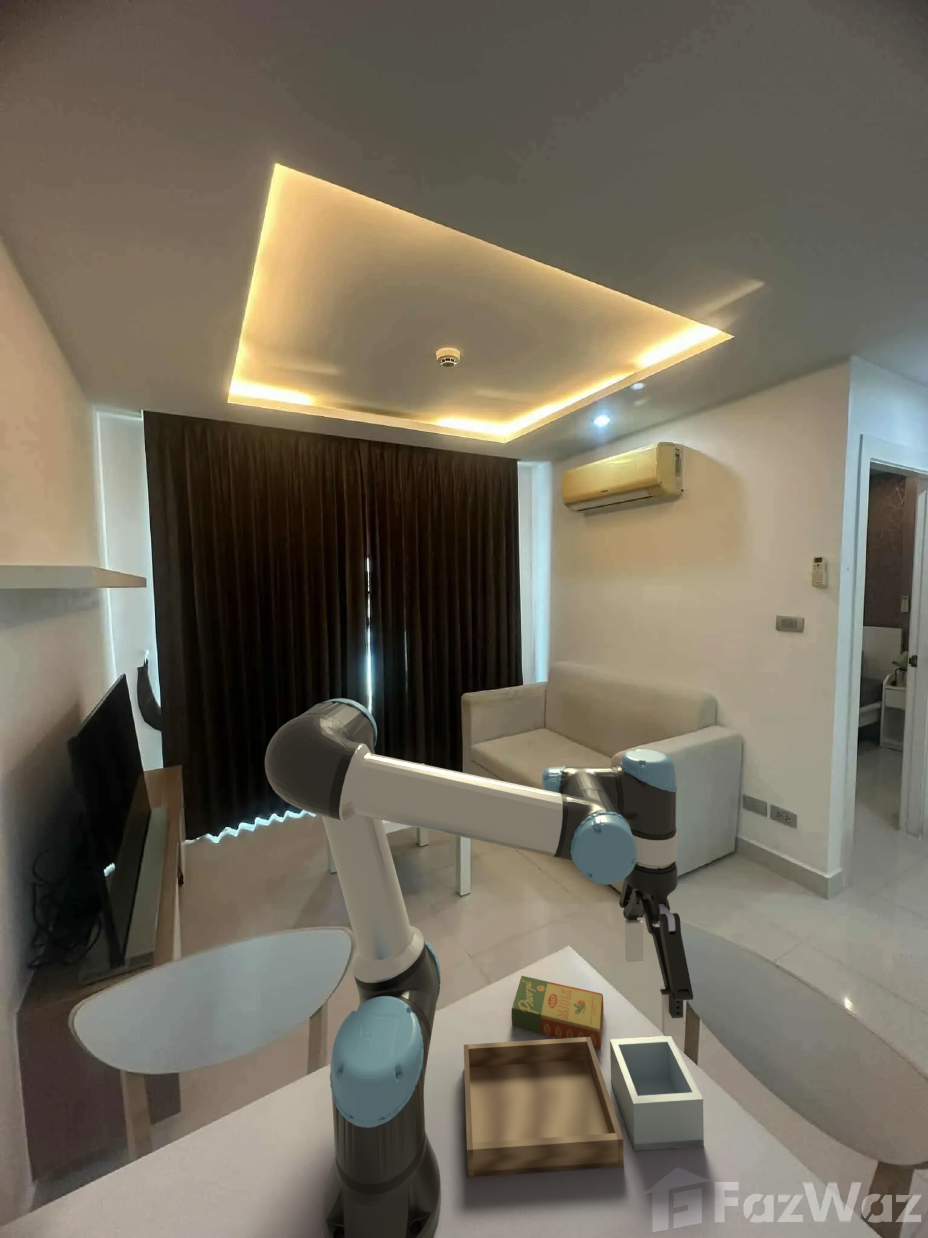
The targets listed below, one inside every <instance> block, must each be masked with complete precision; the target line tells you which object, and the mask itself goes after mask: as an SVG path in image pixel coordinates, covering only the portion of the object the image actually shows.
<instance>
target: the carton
mask: <svg viewBox="0 0 928 1238" xmlns="http://www.w3.org/2000/svg"><path fill="white" fill-rule="evenodd" d="M604 1007H605V1006H604V994H603V993H600V992H597V991H593V990H592V991H591V990H587V989H584V988H583V989H582V988H579V987H575V986H574V987H573V986H569V985H565V984H561V983H560V984H559V983H555V982H552V981H546V980H542V979H539V978H535V977H534V978H533V977H530V976H525V975H521V976H520V979H519V983H518V987H517V990H516V993H515V997H514V1000H513V1003H512V1007H511V1014H510V1015H511V1018H510V1019H511V1026H512V1027H513V1028H516V1029H519V1030H523V1031H527V1032H531V1033H535V1034H539V1035H543V1036H546V1037H549V1038H552V1039H564V1038H580V1037H590V1038H591V1041H592V1044H593V1047H594V1050H597V1051H602V1050H601V1049H602V1047H601V1046H602V1035H603V1022H604V1013H605V1012H604V1010H605V1009H604Z"/></svg>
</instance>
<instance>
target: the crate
mask: <svg viewBox="0 0 928 1238" xmlns="http://www.w3.org/2000/svg"><path fill="white" fill-rule="evenodd" d="M595 1050H596V1049H594V1047H593V1044H592V1041H591V1038H590V1037H580V1038H564V1039H557V1038H552V1039H537V1040H536V1039H534V1040H533V1039H532V1040H520V1041H501V1042H488V1043H485V1042H484V1043H470V1044H469V1043H467V1044H463V1065H464V1067H463V1068H464V1072H463V1073H464V1093H465V1095H464V1097H465V1125H466V1127H465V1128H466V1160H467V1178H470V1179H471V1178H483V1177H496V1176H497V1177H498V1176H509V1175H510V1176H513V1175H523V1174H524V1175H525V1174H527V1175H528V1174H539V1173H552V1172H555V1173H556V1172H567V1171H568V1172H569V1171H570V1172H571V1171H582V1170H583V1171H584V1170H585V1171H586V1170H595V1169H612V1168H624V1167H625V1158H624V1157H625V1154H624V1153H625V1152H624V1149H625V1148H624V1138H623V1134H622V1132H621V1128H620V1125H619V1122H618V1118H617V1115H616V1113H615V1110H614V1109H615V1108H614V1105H613V1103H612V1100H611V1097H610V1093H609V1091H608V1088H607V1085H606V1081H605V1079H604V1076H603V1073H602V1068H601V1066H600V1063H599V1059H598V1057H597V1054H596V1053H597V1052H596V1051H595Z"/></svg>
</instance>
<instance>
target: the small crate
mask: <svg viewBox="0 0 928 1238" xmlns="http://www.w3.org/2000/svg"><path fill="white" fill-rule="evenodd" d="M609 1045H610V1046H609V1049H610V1050H609V1053H610V1055H609V1056H610V1082H611V1084H612V1087H613V1091H614V1094H615V1096H616V1100H617V1102H618V1106H619V1109H620V1111H621V1114H622V1119H623V1120H624V1124H625V1125H626V1126H625V1127H626V1130H627V1133H628V1136H629V1138H630V1142H631V1145H632V1148H633V1151H634V1152H636V1151H637V1152H638V1151H639V1152H640V1151H653V1150H667V1149H668V1150H669V1149H680V1148H681V1149H682V1148H683V1149H684V1148H695V1147H704V1145H705V1144H704V1143H705V1141H704V1140H705V1138H704V1137H705V1136H704V1135H705V1134H704V1133H705V1132H704V1130H705V1129H704V1099H703V1096H702V1094H701V1092H700V1090H699V1088H698V1086H697V1084H696V1082H695V1080H694V1078H693V1077H692V1074H691V1073H690V1070H689V1069H688V1067H687V1065H686V1062H685V1061H684V1059H683V1057H682V1055H681V1053H680V1051H679V1049H678V1046H677V1045H676V1042H675V1041H674V1039H673V1036H664V1035H660V1036H659V1035H658V1036H657V1035H656V1036H647V1037H646V1036H642V1037H628V1038H626V1037H625V1038H612V1039H609Z"/></svg>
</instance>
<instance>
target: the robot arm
mask: <svg viewBox="0 0 928 1238" xmlns="http://www.w3.org/2000/svg"><path fill="white" fill-rule="evenodd" d="M377 737H378V729H377V724H376V721H375V719H374V717H373V714H371V712H370V711H369V710H368V709H367V708H366V706H365V705H362V704H360V703H359V702H357V701H355V700H352V699H348V698H342V697H341V698H339V697H338V698H332V699H328V700H326V701H322V702H319V703H317V704H315V705H313V706H312V707H311V708H309V709H308V710H307V711H305V712H304V713H302V714H300V715H299V716H297V717H294V718H293V719H290V720H288V721H287V722H286V723H285V724H283V725H282V726H281V727H280V728H279V729H278V730H277V731H276V732H275V733H274V735H273V736H272V738H271V739H270V741H269V743H268V745H267V748H266V750H265V751H266V752H265V757H264V768H265V774H266V777H267V780H268V783H269V784H270V786H271V787H272V790H273V791H274V793H276V794H277V796H279V797H280V798H281V799H282V800H284V802H286V803H288V804H290V805H291V806H293V807H295V808H297V809H300V810H302V811H305V812H307V813H310V814H314V815H317V816H320V817H322V822H323V824H324V825H323V826H324V828H325V829H324V830H325V832H326V837H327V840H328V842H329V843H328V844H329V847H330V852H331V855H332V857H333V858H332V859H333V862H334V866H335V869H336V874H337V877H338V880H339V883H340V884H339V885H340V889H341V891H342V895H343V898H344V902H345V907H346V910H347V913H348V917H349V921H350V925H351V929H352V932H353V937H354V939H355V944H356V948H357V952H355V955H354V957H353V960H352V962H351V963H352V964H351V966H352V967H351V968H352V969H351V970H352V974H353V977H354V980H355V985H356V989H357V992H358V998H359V1003H358V1007H357V1009H356V1010H352V1011H351V1012H349V1013H348V1014H347V1016H346V1017H345V1019H344V1020H343V1021H342V1023H341V1024H340V1026H339V1028H338V1030H337V1032H336V1035H335V1038H334V1041H333V1045H332V1050H331V1058H330V1059H331V1060H330V1065H329V1066H330V1073H329V1082H330V1088H331V1101H332V1118H333V1138H334V1153H335V1154H334V1159H333V1163H332V1166H331V1170H330V1173H329V1177H328V1181H327V1184H326V1186H325V1191H324V1192H325V1194H324V1201H323V1230H324V1237H325V1238H433V1236H434V1234H435V1230H436V1228H437V1225H438V1223H439V1222H438V1221H439V1217H440V1212H441V1207H442V1206H441V1205H442V1189H441V1188H442V1187H441V1174H440V1173H441V1171H440V1167H439V1163H438V1160H437V1157H436V1156H437V1155H436V1153H435V1151H434V1148H433V1146H432V1144H431V1142H430V1139H429V1137H428V1134H427V1132H426V1119H425V1115H426V1114H425V1080H426V1072H427V1065H428V1059H429V1058H428V1057H429V1054H430V1052H429V1051H430V1046H431V1045H430V1044H431V1039H432V1035H433V1028H434V1020H435V1015H436V1009H437V1003H438V1001H439V996H440V990H441V967H440V966H441V965H440V961H439V958H438V956H437V953H436V951H435V949H434V947H433V946H432V945H431V943H430V942H429V941H425V938H424V935H423V933H422V931H421V930H419V929H418V928H417V927H415V926H412V925H411V923H410V919H409V916H408V912H407V908H406V904H405V901H404V896H403V893H402V890H401V886H400V882H399V879H398V878H399V877H398V874H397V872H396V871H397V870H396V867H395V863H394V860H393V855H392V851H391V848H390V845H389V840H388V836H387V834H386V833H387V832H386V830H385V826H384V822H383V821H386V822H389V823H390V822H391V823H393V824H394V823H395V824H399V825H405V826H408V827H413V828H418V829H423V830H428V831H431V832H437V833H441V834H446V835H452V836H455V837H460V838H465V839H468V840H469V839H470V840H474V841H479V842H484V843H488V844H493V845H497V846H502V847H508V848H511V849H517V850H521V851H526V852H530V853H535V854H538V855H544V856H547V857H548V856H549V857H552V858H556V859H561V860H564V861H567V862H568V861H569V862H573V864H574V865H575V866H576V868H577V869H578V870H577V871H579V873H580V874H581V875H582V876H584V877H585V878H586V879H588V880H589V881H590V882H592V883H596V884H598V885H604V886H605V885H613V884H617V883H619V882H621V881H623V884H622V887H621V892H620V895H619V900H618V901H619V903H618V904H619V906H620V908H622V909H623V912H622V914H623V917H624V919H625V920H624V933H625V934H624V935H625V937H624V938H625V941H624V942H625V960H626V961H627V963H631V962H632V963H635V962H644V923H643V921H642V919H641V918H644V921H645V924H646V929H647V932H648V933H649V935H651V936H652V940H653V943H654V948H655V952H656V956H657V960H658V965H659V968H660V973H661V977H662V980H663V985H661V986H660V987H661V988H660V989H659V990H660V994H661V1031H662V1034H663V1036H671V1037H675V1036H676V1037H677V1036H679V1037H680V1036H685V1016H684V1015H685V1014H684V1013H685V1011H684V1010H685V1009H684V1008H685V1007H684V1006H685V1004H684V1001H691V1000H692V1001H693V1000H694V993H693V992H694V991H693V989H692V983H691V978H690V972H689V968H688V967H689V966H688V962H687V957H686V951H685V947H684V942H683V937H682V926H681V918H680V914H679V913H678V912H671V911H670V910H671V906H670V903H669V900H668V896H669V895H670V894H671V893H673V892H674V891H675V890H676V889H677V887H678V863H677V848H678V847H677V844H678V843H677V840H678V839H679V838H680V837H679V836H680V835H679V834H678V832H677V791H678V786H677V776H676V773H677V772H676V767H675V766H676V765H675V762H674V761H673V759H672V758H671V757H670V756H669V755H667V754H665V753H663V752H661V751H659V750H658V751H657V750H652V749H645V748H644V749H641V748H640V749H639V748H638V749H634V750H627V751H625V752H624V753H623V754H622V756H621V761H620V765H614V766H569V765H563V766H553V767H546V768H545V769H544V770H543V772H542V776H541V789H540V788H536V787H531V786H527V785H522V784H518V783H511V782H509V781H503V780H500V779H499V780H498V779H494V778H489V777H484V776H479V775H475V774H469V773H466V772H461V771H456V770H452V769H448V768H447V769H446V768H441V767H437V766H432V765H429V764H424V763H423V764H422V763H419V762H412V761H408V760H403V759H400V758H399V759H398V758H396V757H391V756H390V757H389V756H385V755H379V754H376V752H375V746H376V744H377V739H378V738H377ZM639 918H640V919H639ZM654 925H658V926H654Z"/></svg>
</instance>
